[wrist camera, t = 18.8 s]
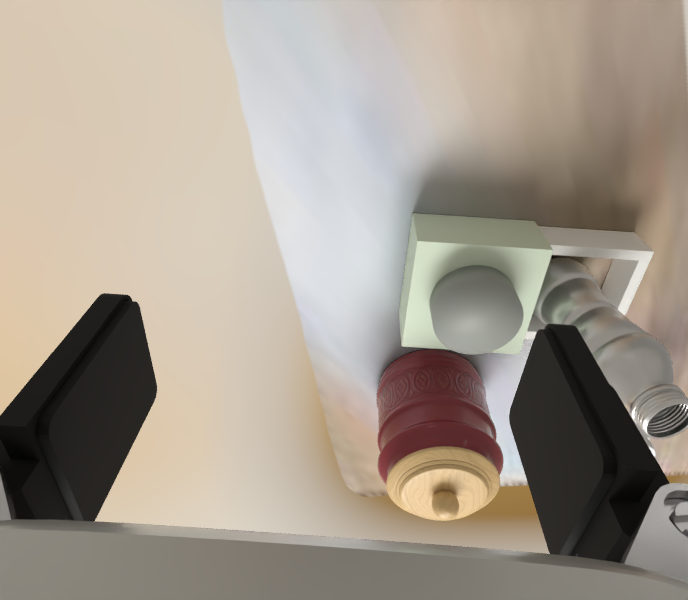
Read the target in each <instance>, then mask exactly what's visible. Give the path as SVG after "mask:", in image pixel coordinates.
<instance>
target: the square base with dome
mask: <svg viewBox="0 0 688 600" xmlns="http://www.w3.org/2000/svg"><path fill="white" fill-rule="evenodd" d="M653 253H654V251H653V250H652V249H651V248H650V247H649V246H648V245H647V244H646V243H645V242H644V241H643V240H642V239H641V238H640V237H639V236H638V235H637V234H636V233H635V232H621V231H606V230H590V229H575V228H560V227H545V226H538V225H537V224H536V222H535V221H526V220H511V219H495V218H480V217H465V216H450V215H435V214H420V213H412V221H411V228H410V235H409V242H408V249H407V256H406V264H405V271H404V278H403V285H402V292H401V299H400V306H399V322H400V334H401V346H403V347H418V348H433V349H448V350H453V351H455V352H458V353H462V354H471V355H476V354H484V353H488V352H492V353H507V354H520V351H521V348H522V345H523V342H524V339H534V338H535V335H536V333H537V331H538V330H539V329H544V328H545V327H546V324H545V323H543V322H542V321H541V320H540V319H539V318H538V317H537V316H536V315H535V314H534V313H533V311H534V308H535V305H536V302H537V299H538V296H539V293H540V290H541V287H542V284H543V281H544V278H545V274H546V271H547V268H548V265H549V262H550V259H551V256H552V255H563V256H578V257H593V258H608V259H613V261H612V264H611V266H610V269H609V271H608V274H607V276H606V279H605V281H604V283H603V286H602V288H601V291H602V292H603V293H604V294H605V296H606V297H607V298H608V300H609V301H610V302H611V304H612V305H614V306H615V307H616V308H617V309H618V310H619V311H620V312H621V313H622V314H624V315H625V314H626V312H627V310H628V308H629V306H630V304H631V301H632V299H633V297H634V295H635V293H636V290H637V288H638V286H639V284H640V282H641V279H642V277H643V275H644V273H645V271H646V269H647V266H648V264H649V262H650V260H651V258H652V255H653Z"/></svg>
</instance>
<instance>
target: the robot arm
mask: <svg viewBox="0 0 688 600" xmlns="http://www.w3.org/2000/svg"><path fill="white" fill-rule="evenodd" d="M156 393H157V384H156V379H155V375H154V371H153V366H152V361H151V357H150V352H149V348H148V343H147V339H146V334H145V329H144V325H143V320H142V316H141V312H140V307H139V305H138V303H137V302H133V301H132V299H131V297H130V296H128V295H119V294H105V293H104V294H101V295H100V296H99V297H98V298H97V299H96V301H95V302H94V303H93V304H92V305H91V307H90V308H89V309H88V310H87V312H86V313H85V314H84V315H83V316H82V318H81V319H80V320H79V321H78V322H77V324H76V325H75V326H74V327H73V329H72V330H71V331H70V332H69V333H68V335H67V336H66V337H65V338H64V340H63V341H62V342H61V343H60V344H59V346H58V347H57V348H56V349H55V350H54V352H53V353H52V354H51V355H50V356H49V357H48V359H47V360H46V361H45V362H44V363H43V365H42V366H41V367H40V368H39V369H38V371H37V372H36V373H35V374H34V375H33V377H32V378H31V379H30V380H29V382H28V383H27V384H26V385H25V386H24V388H23V389H22V390H21V391H20V393H19V394H18V395H17V396H16V397H15V399H14V400H13V401H12V402H11V403H10V405H9V406H8V407H7V408H6V409H5V411H4V412H3V413H2V414H1V415H0V600H688V485H686V484H682V483H669V481H668V480H667V478H666V476H665V474H664V473H663V471H662V469H661V468H660V466H659V464H658V462H657V461H656V459H655V457H654V456H653V454H652V452H651V450H650V449H649V447H648V445H647V444H646V442H645V440H644V438H643V437H642V435H641V433H640V431H639V430H638V428H637V426H636V425H635V423H634V421H633V419H632V418H631V416H630V414H629V413H628V411H627V409H626V407H625V406H624V404H623V402H622V400H621V399H620V397H619V395H618V394H617V392H616V390H615V389H614V388H613V387H612V386H611V385H610V384H609V383H608V381H607V379H606V377H605V376H604V374H603V372H602V370H601V369H600V367H599V365H598V363H597V362H596V360H595V358H594V357H593V355H592V353H591V351H590V350H589V348H588V346H587V344H586V343H585V341H584V339H583V337H582V336H581V334H580V332H579V330H578V329H577V327H576V326H574V325H565V324H547V325H546V327H545V328H544V329H539V330H538V331H537V333H536V335H535V338H534V341H533V344H532V347H531V350H530V353H529V356H528V359H527V362H526V365H525V368H524V371H523V373H522V376H521V379H520V382H519V385H518V388H517V391H516V394H515V397H514V400H513V403H512V406H511V409H510V414H509V420H510V426H511V429H512V432H513V436H514V439H515V442H516V445H517V449H518V452H519V455H520V458H521V462H522V465H523V468H524V471H525V475H526V478H527V481H528V485H529V488H530V491H531V494H532V498H533V501H534V504H535V507H536V511H537V514H538V517H539V520H540V523H541V527H542V530H543V533H544V536H545V540H546V543H547V546H548V550H549V552H550V554H542V553H532V552H522V551H511V550H499V549H487V548H474V547H461V546H447V545H434V544H421V543H408V542H394V541H382V540H367V539H353V538H340V537H326V536H311V535H296V534H282V533H269V532H255V531H239V530H225V529H209V528H194V527H177V526H164V525H148V524H132V523H113V522H112V523H111V522H94V521H95V519H96V517H97V515H98V513H99V511H100V509H101V507H102V505H103V503H104V501H105V499H106V497H107V495H108V493H109V491H110V489H111V487H112V485H113V483H114V481H115V479H116V477H117V475H118V473H119V471H120V469H121V467H122V465H123V463H124V461H125V459H126V457H127V455H128V453H129V451H130V449H131V447H132V445H133V443H134V441H135V439H136V437H137V435H138V433H139V431H140V428H141V427H142V424H143V423H144V421H145V419H146V417H147V415H148V412H149V411H150V409H151V407H152V405H153V403H154V400H155V398H156Z"/></svg>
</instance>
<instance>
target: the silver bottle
mask: <svg viewBox="0 0 688 600" xmlns="http://www.w3.org/2000/svg"><path fill="white" fill-rule="evenodd" d="M533 313H534V314H535V315H536V316H537V317H538V318H539V319H540V320H541V321H542V322H543V323H545V324H546V325H547V324H565V325H574V326H576V327H577V329H578V330H579V332H580V334H581V336H582V337H583V339H584V341H585V343H586V344H587V346H588V348H589V350H590V351H591V353H592V355H593V357H594V358H595V360H596V362H597V363H598V365H599V367H600V369H601V370H602V372H603V374H604V376H605V377H606V379H607V381H608V383H609V384H610V385H611V386H612V387H613V388H614V389H615V390H616V392H617V394H618V395H619V397H620V399H621V400H622V402H623V404H624V406H625V407H626V409H627V411H628V412H629V414H630V416H631V418H632V419H633V421H634V422H635V423H636V424H638V425H639V426H640V427H641V428H642V430H643V431H644V432H645V433H646V434H647V435H648V436H649V437H651V438H654V439H664V438H669V437H672V436H675V435H677V434H679V433H681V432H682V431H684V430H685V429H687V428H688V398H687V397H686V396H685V394H684V392H683V391H682V390H681V389H680V388H679V387H678V386H676V385H673V363H672V360H671V358H670V356H669V353H668V351H667V349H666V348H665V347H664V346H663V345H662V344H661V343H660V342H659V341H658V340H656V339H655V338H654V337H652V336H651V335H649V334H648V333H647V332H645V331H644V330H642V329H641V328H640V327H638V326H637V325H635V324H634V323H633V322H631V321H630V320H629V319H628V318H627V317H626V316H625V315H624V314H622V313H621V312H620V311H619V310H618V309H617V308H616V307H615V306H614V305H612V304H611V302H610V301H609V300H608V298H607V297H606V296H605V294H604V293H603V292H602V291H601V289H600V288H599V286H598V284H597V282H596V280H595V278H594V277H593V275H592V274H591V272H590V271H589V269H588V268H587V267H585V266H584V265H582V264H581V263H579V262H577V261H576V260H574V259H571V258H555V259H550V262H549V265H548V268H547V271H546V274H545V278H544V281H543V284H542V287H541V290H540V293H539V296H538V299H537V302H536V305H535V308H534V311H533Z"/></svg>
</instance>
